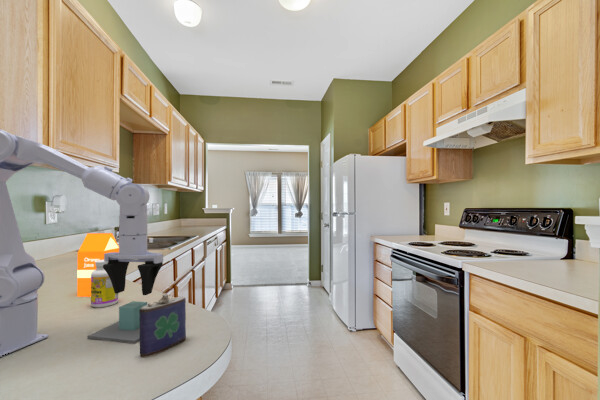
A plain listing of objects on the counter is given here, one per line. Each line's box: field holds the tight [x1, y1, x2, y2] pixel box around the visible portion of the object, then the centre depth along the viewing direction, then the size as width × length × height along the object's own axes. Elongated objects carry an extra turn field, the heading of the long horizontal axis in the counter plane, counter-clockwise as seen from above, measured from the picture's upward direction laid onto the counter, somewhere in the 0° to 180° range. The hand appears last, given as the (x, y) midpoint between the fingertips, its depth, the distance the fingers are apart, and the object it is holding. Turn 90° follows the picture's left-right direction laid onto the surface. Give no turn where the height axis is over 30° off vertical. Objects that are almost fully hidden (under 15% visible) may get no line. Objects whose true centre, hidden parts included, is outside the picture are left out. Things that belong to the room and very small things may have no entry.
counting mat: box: [87, 320, 140, 345], centre depth 65 cm, size 12×12×1 cm
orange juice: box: [76, 232, 119, 298], centre depth 93 cm, size 8×9×20 cm
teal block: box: [118, 300, 148, 331], centre depth 65 cm, size 4×4×5 cm
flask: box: [139, 292, 187, 358], centre depth 56 cm, size 9×3×11 cm, turn 144°
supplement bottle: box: [90, 260, 119, 308], centre depth 82 cm, size 7×7×13 cm
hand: (133, 293), depth 65 cm, fingers open, 7 cm apart
